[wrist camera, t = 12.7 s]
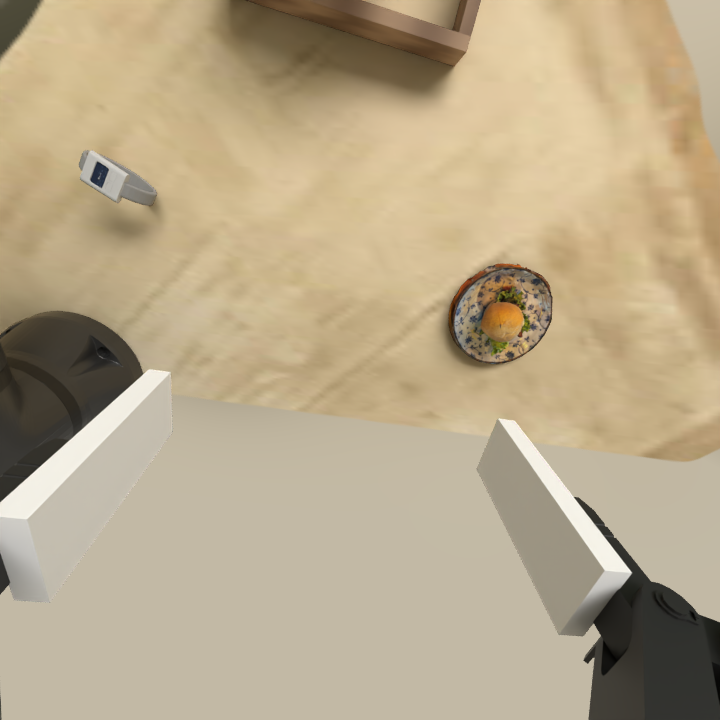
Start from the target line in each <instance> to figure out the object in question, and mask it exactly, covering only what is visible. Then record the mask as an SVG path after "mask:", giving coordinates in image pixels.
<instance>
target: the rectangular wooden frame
mask: <svg viewBox="0 0 720 720" xmlns="http://www.w3.org/2000/svg"><path fill="white" fill-rule="evenodd" d="M247 1H250V2H253V3H256V4H259V5H262V6H265V7H269V8H272V9H275V10H278V11H281V12H284V13H288V14H291V15H294V16H297V17H300V18H303V19H307V20H310V21H313V22H316V23H319V24H322V25H325V26H329V27H332V28H335V29H338V30H341V31H344V32H348V33H351V34H354V35H357V36H360V37H363V38H367V39H370V40H373V41H376V42H379V43H382V44H386V45H389V46H392V47H395V48H398V49H401V50H404V51H408V52H411V53H414V54H417V55H420V56H423V57H427V58H430V59H433V60H436V61H439V62H442V63H446V64H449V65H452V66H455V65H456V64H457V63H458V61H459V60H460V59H461V58H462V57H463V55H464V54H465V53H466V51H467V48H468V44H469V41H470V37H471V34H472V30H473V27H474V23H475V19H476V16H477V12H478V9H479V5H480V2H481V0H461V1H460V4H459V8H458V12H457V16H456V20H455V23H454V27H453V30H450V29H447V28H444V27H441V26H438V25H435V24H432V23H428V22H425V21H422V20H419V19H416V18H413V17H410V16H407V15H404V14H401V13H398V12H395V11H392V10H389V9H386V8H383V7H380V6H377V5H374V4H371V3H368V2H365V1H362V0H247Z"/></svg>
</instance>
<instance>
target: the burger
mask: <svg viewBox="0 0 720 720" xmlns="http://www.w3.org/2000/svg"><path fill="white" fill-rule="evenodd" d="M552 298H553V297H552V296H551V291H550V286H549V284H548V282H547V281H546V280H545V279H544V277H543V276H542V275H540V274H538V273H536V272H534V271H531V270H529V269H527V267H526V268H523V267H521V266H520V265H518V264H517V265H513V264H496V265H494V266H489V267H487V268H486V269H485V270H483V271H480V272H479V273H478V274H477V275H475V276H474V277H472V278H469V279H468V280H467V281H466V282H465V283H464V284H463V285H462V286H461V288H460V290H459V292H458V294H457V295H456V296H455V297H454V299H453V301H452V303H451V307H450V311H449V328H450V333H451V335H452V338H453V340H454V341H455V343H456V344H457V346H458V347H459V348H460V349H461V350H462V351H463V352H464V353H466V354H467V355H468V356H469V357H471V358H472V359H475V360H477V361H479V362H484V363H490V364H499V363H505V362H510V361H513V360H515V359H517V358H520V357H521V356H523V355H524V354H526V353H527V352H529V351H530V350H532V349H533V348H534V347H535V346H536V345H537V344H538V343H539V342H540V340H541V339H542V337H543V336H544V335H545V333H546V331H547V329H548V327H549V325H550V323H551V319H552Z"/></svg>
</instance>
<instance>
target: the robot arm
mask: <svg viewBox="0 0 720 720" xmlns="http://www.w3.org/2000/svg"><path fill="white" fill-rule="evenodd" d="M172 425H173V424H172V394H171V372H166V371H158V370H151V369H149V370H148V371H147V372H146V373H144V374H143V373H142V370H141V366H140V364H139V362H138V360H137V358H136V356H135V354H134V353H133V351H132V350H131V348H130V347H129V346H128V345H127V344H126V342H125V341H124V340H123V339H122V338H121V337H119V336H118V335H117V334H116V333H115V332H113V331H112V330H111V329H109V328H108V327H106V326H105V325H103V324H101V323H100V322H98V321H96V320H93V319H91V318H89V317H86V316H83V315H80V314H76V313H71V312H63V311H51V312H44V313H40V314H37V315H34V316H31V317H29V318H26V319H24V320H21V321H19V322H17V323H15V324H13V325H12V326H10V327H9V328H7V329H6V330H5V331H4V332H3V333H2V334H1V335H0V594H1V593H2V592H3V591H4V590H5V588H6V587H7V586H8V585H9V586H10V589H11V592H12V595H13V598H14V600H17V601H18V600H19V601H33V602H49V603H50V601H51V600H52V599H53V598H54V596H55V595H56V593H57V592H58V591H59V589H60V588H61V586H62V585H63V583H64V582H65V581H66V580H67V578H68V577H69V575H70V574H71V573H72V571H73V570H74V568H75V567H76V566H77V564H78V563H79V561H80V560H81V559H82V557H83V556H84V554H85V553H86V552H87V550H88V549H89V547H90V546H91V545H92V543H93V542H94V541H95V539H96V538H97V536H98V535H99V534H100V532H101V531H102V530H103V528H104V526H105V525H106V524H107V523H108V521H109V520H110V518H111V517H112V516H113V514H114V513H115V512H116V510H117V509H118V507H119V506H120V505H121V503H122V502H123V500H124V499H125V498H126V496H127V495H128V493H129V492H130V491H131V489H132V488H133V486H134V485H135V484H136V482H137V481H138V480H139V478H140V477H141V475H142V474H143V473H144V471H145V470H146V468H147V467H148V466H149V464H150V463H151V461H152V460H153V459H154V457H155V456H156V454H157V453H158V452H159V450H160V449H161V448H162V446H163V445H164V443H165V442H166V441H167V439H168V438H169V437H170V435H171V433H172V432H173V426H172ZM477 471H478V473H479V475H480V477H481V479H482V481H483V483H484V485H485V487H486V489H487V491H488V493H489V495H490V497H491V499H492V501H493V503H494V505H495V507H496V509H497V511H498V513H499V515H500V517H501V519H502V521H503V523H504V525H505V527H506V529H507V531H508V533H509V535H510V537H511V539H512V542H513V544H514V546H515V548H516V549H517V552H518V554H519V556H520V557H521V560H522V562H523V564H524V566H525V568H526V570H527V572H528V574H529V576H530V578H531V579H532V582H533V584H534V586H535V588H536V590H537V592H538V594H539V596H540V598H541V600H542V602H543V604H544V606H545V608H546V610H547V612H548V614H549V616H550V618H551V620H552V622H553V624H554V626H555V628H556V630H557V632H558V634H559V635H572V636H584V635H585V633H586V632H587V631H588V630H589V628H590V627H591V626H592V624H593V623H594V624H595V626H596V628H597V630H598V631H599V633H600V634H601V637H600V638H599V639H598V641H597V642H596V643H595V644H594V645H593V647H592V648H591V649H590V650H589V652H588V653H587V654H586V656H585V658H584V661H585V662H586V663H589V661H590V660H591V659H592V658H595V660H594V670H593V679H592V690H591V701H590V710H589V720H720V622H717V621H715V620H712V619H709V618H707V617H704V616H701V615H699V614H698V613H697V612H696V611H695V609H694V608H693V607H692V606H691V605H690V604H689V603H688V602H687V601H686V600H685V599H683V597H682V596H680V595H679V594H677V593H676V592H674V591H673V590H671V589H670V588H668V587H666V586H664V585H662V584H659V583H655V582H651V581H650V580H649V578H648V577H647V576H646V575H645V574H644V572H643V571H642V570H641V569H640V567H639V566H638V565H637V564H636V562H635V561H634V560H633V559H632V557H631V556H630V555H629V554H628V552H627V551H626V550H625V549H624V548H623V546H622V545H621V544H620V542H619V541H618V540H617V539H616V538H614V535H613V534H612V532H610V530H609V529H608V527H605V524H604V522H603V521H602V520H601V519H600V518H599V516H598V515H597V514H596V512H595V511H594V510H593V509H592V508H590V507H589V506H588V505H587V504H586V503H584V502H583V501H582V500H581V499H580V498H577V497H573V496H572V494H571V493H570V492H569V491H568V489H567V488H566V487H565V486H564V484H563V483H562V482H561V480H560V479H559V478H558V476H557V475H556V474H555V472H554V471H553V470H552V469H551V467H550V466H549V465H548V463H547V462H546V461H545V459H544V458H543V457H542V456H541V454H540V453H539V452H538V450H537V449H536V448H535V447H534V445H533V444H532V443H531V441H530V440H529V439H528V437H527V436H526V435H525V434H524V432H523V431H522V430H521V428H520V427H519V426H518V424H517V423H516V422H515V421H512V420H505V419H497V421H496V424H495V426H494V429H493V431H492V433H491V436H490V438H489V441H488V443H487V445H486V448H485V450H484V453H483V455H482V457H481V460H480V462H479V465H478V467H477ZM0 720H1V699H0Z"/></svg>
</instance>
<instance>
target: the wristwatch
mask: <svg viewBox="0 0 720 720" xmlns="http://www.w3.org/2000/svg"><path fill="white" fill-rule="evenodd" d="M79 167H80V169H81V170H82V173H81V176H80V180H81V181H83V182H84V183H86V184H88V185H89V186H91V187H92V188H94V189H96V190H97V191H99V192H100V193H102V194H103V195H105V196H107V197H108V198H110V199H111V200H113V201H114V202H116V203H119V202H120V201H121V198H122V197H123V198H125V199H128V200H130V201H133V202H136V203H139V204H142V205H148V206H150V205H153V203H154V200H155V198H156V196H157V192H156V190H155V189H154V188H153V187H152V186H151V185H150V184H149V183H147V182H146V181H145V180H144V179H142V178H141V177H140V176H138V175H137V174H135V173H134V172H132V171H131V170H129V169H127V168H126V167H124V166H122V165H120V164H119V163H117V162H115V161H113V160H111V159H109V158H107V157H105V156H103V155H100V154H98V153H96V152H94V151H92V150H91V151H84V152H83V153H82V156H81V159H80V162H79Z"/></svg>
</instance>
